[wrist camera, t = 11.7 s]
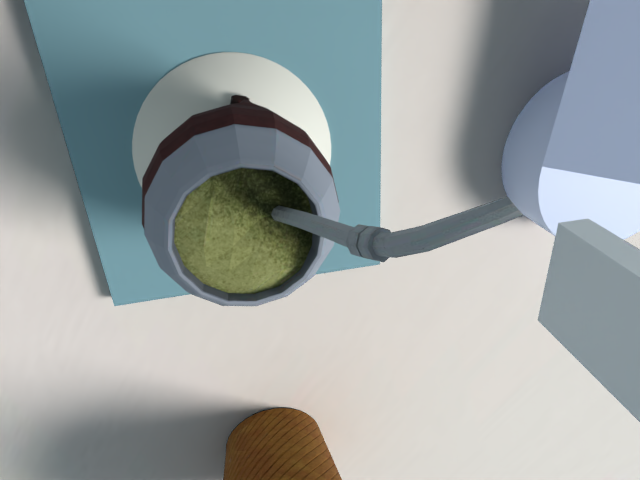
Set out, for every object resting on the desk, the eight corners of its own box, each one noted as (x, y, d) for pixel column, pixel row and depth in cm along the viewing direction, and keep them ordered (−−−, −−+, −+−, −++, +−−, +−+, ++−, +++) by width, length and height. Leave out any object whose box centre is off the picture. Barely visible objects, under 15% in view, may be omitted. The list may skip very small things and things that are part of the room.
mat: (28, -5, 19) (21, -6, 18) (375, -24, 21) (382, -24, 20) (116, 297, 25) (114, 307, 24) (375, 257, 27) (380, 265, 27)
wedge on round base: (548, -32, 23) (485, 223, 28) (671, -43, 17) (559, 283, 22) (702, -14, 25) (614, 221, 30) (859, -17, 19) (714, 275, 24)
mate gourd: (152, 227, 23) (88, 536, 10) (156, 51, 20) (67, 161, 7) (305, 236, 25) (422, 503, 12) (332, 77, 22) (533, 201, 9)
